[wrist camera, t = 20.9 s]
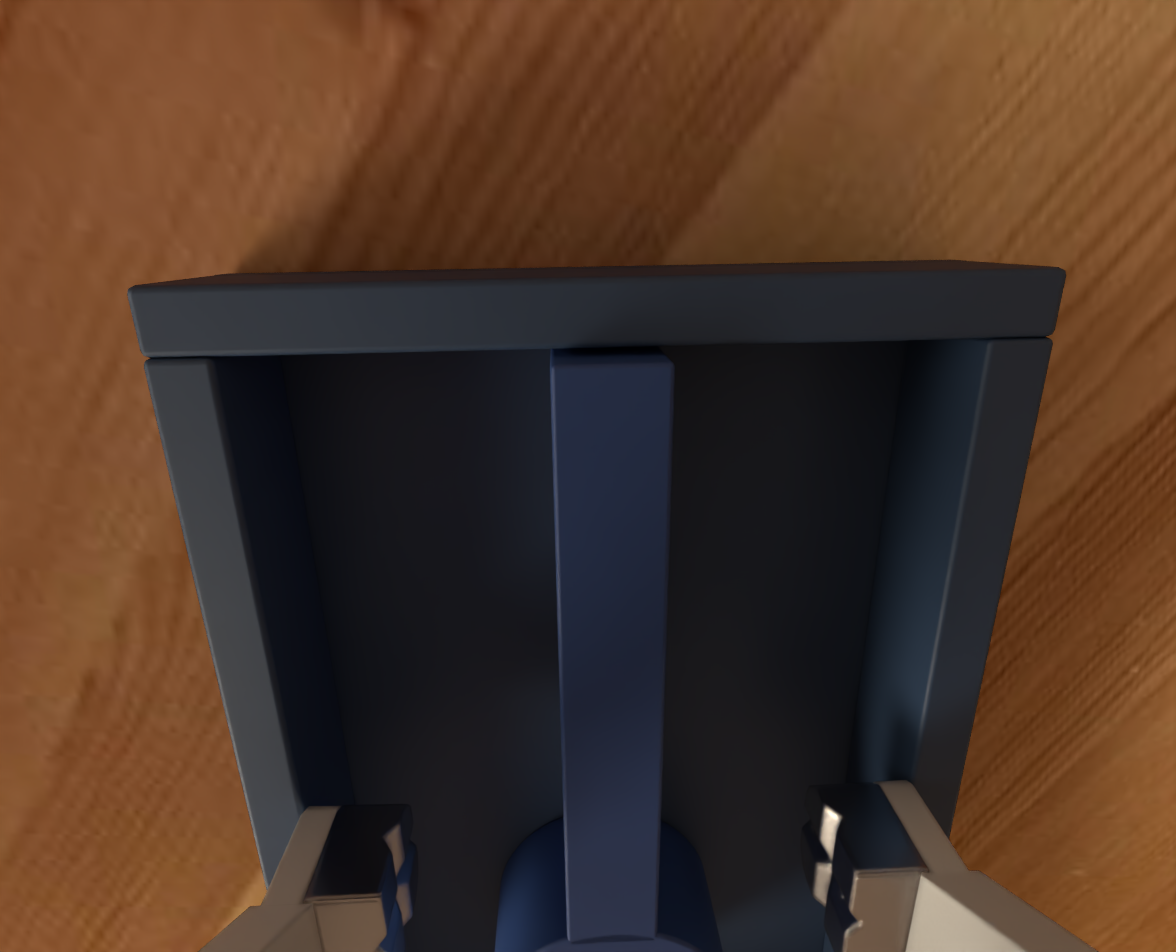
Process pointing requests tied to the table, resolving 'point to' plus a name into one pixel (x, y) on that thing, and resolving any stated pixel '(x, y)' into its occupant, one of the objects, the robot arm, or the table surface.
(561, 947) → the blue spoon
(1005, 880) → the table surface
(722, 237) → the table surface
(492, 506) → the blue tray
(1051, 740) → the table surface
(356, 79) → the table surface
